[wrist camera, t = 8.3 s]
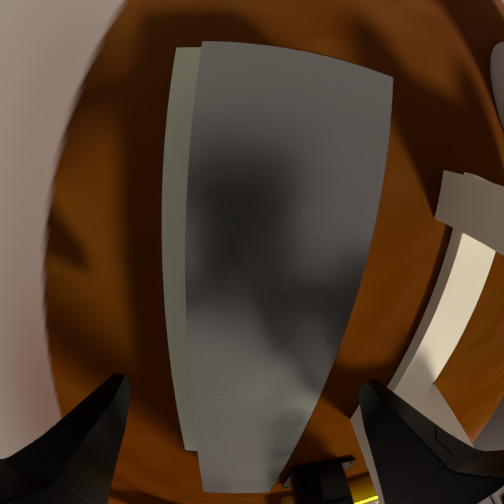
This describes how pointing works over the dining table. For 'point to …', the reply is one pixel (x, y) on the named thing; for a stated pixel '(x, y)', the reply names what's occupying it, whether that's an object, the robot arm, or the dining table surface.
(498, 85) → the mug
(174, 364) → the mat
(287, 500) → the element tile
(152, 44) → the dining table surface
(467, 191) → the rack
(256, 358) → the rail
